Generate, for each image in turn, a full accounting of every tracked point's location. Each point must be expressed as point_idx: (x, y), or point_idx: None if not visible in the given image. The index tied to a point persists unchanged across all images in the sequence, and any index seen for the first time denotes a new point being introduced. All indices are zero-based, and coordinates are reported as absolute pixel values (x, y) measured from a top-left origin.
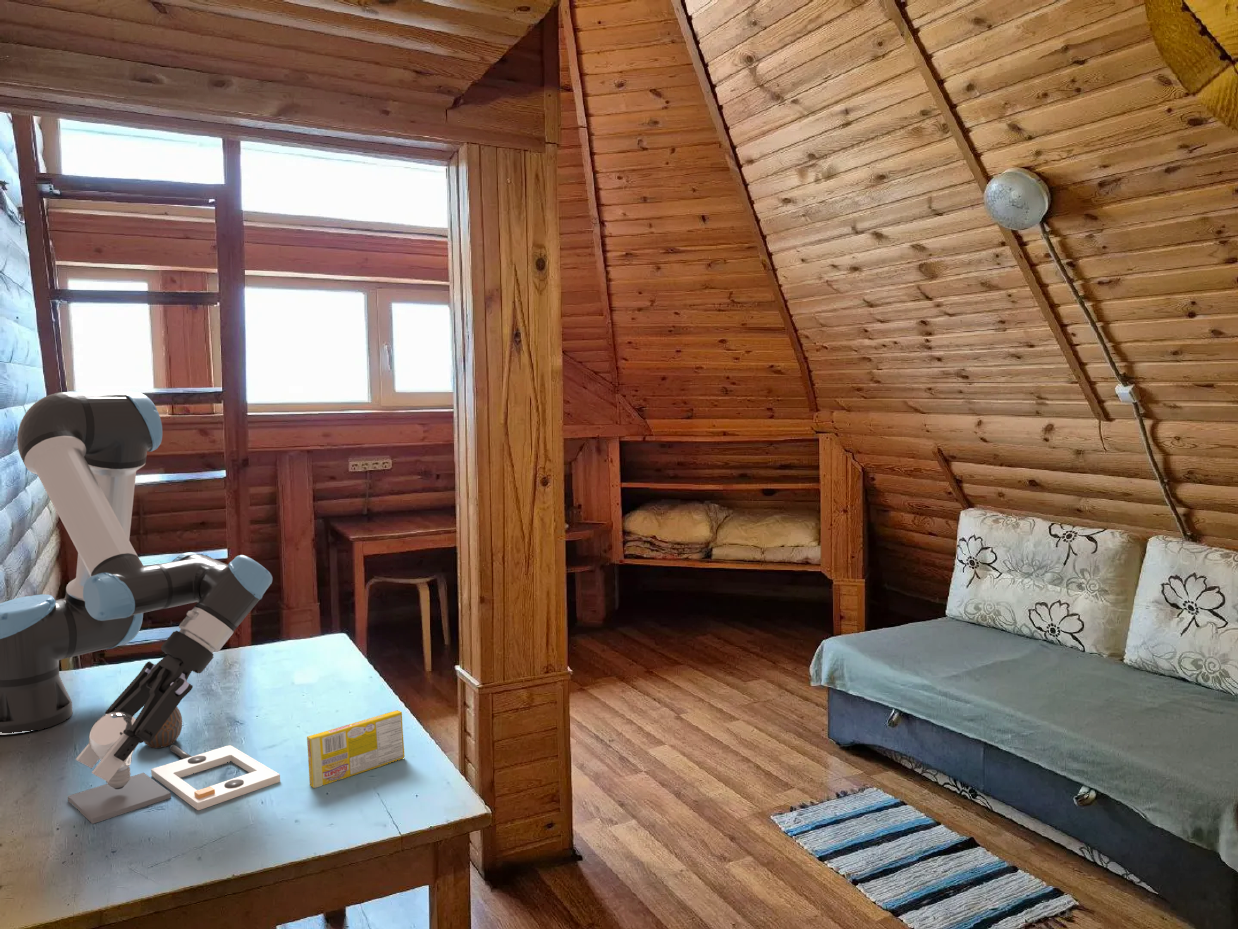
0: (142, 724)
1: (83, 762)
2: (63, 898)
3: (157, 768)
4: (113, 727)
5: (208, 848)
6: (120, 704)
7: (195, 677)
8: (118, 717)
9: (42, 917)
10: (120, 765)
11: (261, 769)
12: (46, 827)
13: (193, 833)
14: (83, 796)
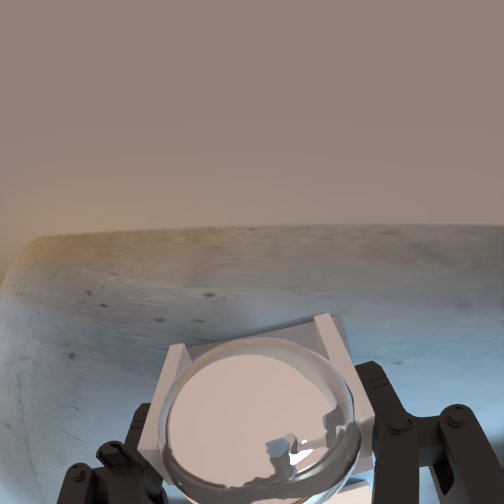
0: (73, 497)
1: (317, 335)
2: (24, 282)
3: (362, 496)
4: (162, 422)
5: (19, 445)
6: (418, 488)
7: None
8: (189, 461)
9: (13, 262)
10: None
11: None
12: (229, 277)
13: (58, 457)
14: (314, 344)
